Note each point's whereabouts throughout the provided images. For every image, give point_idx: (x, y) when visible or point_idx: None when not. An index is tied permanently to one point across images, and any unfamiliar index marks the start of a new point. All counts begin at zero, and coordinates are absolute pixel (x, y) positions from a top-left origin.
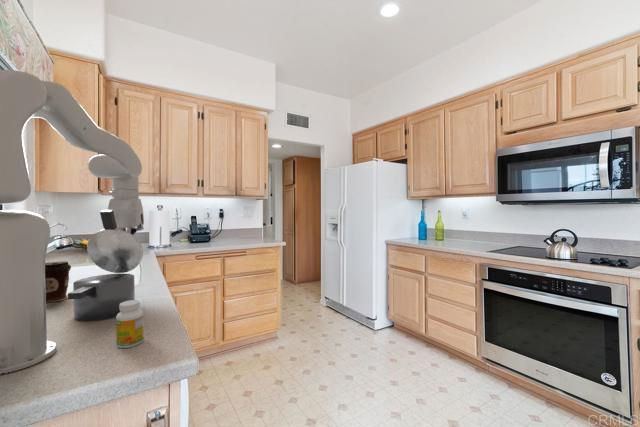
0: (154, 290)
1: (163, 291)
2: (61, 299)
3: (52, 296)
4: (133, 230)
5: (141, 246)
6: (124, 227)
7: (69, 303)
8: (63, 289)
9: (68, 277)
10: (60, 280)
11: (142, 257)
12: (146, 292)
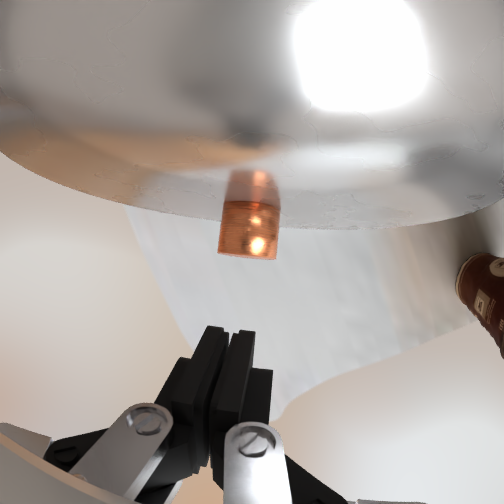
0: (207, 324)
1: (170, 303)
2: (463, 267)
3: (485, 260)
4: (70, 452)
5: (22, 162)
6: (113, 494)
7: (433, 231)
8: (476, 283)
9: (487, 317)
10: (499, 285)
11: (88, 193)
12: (225, 306)
